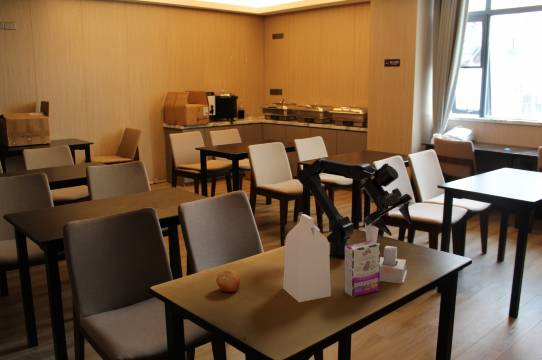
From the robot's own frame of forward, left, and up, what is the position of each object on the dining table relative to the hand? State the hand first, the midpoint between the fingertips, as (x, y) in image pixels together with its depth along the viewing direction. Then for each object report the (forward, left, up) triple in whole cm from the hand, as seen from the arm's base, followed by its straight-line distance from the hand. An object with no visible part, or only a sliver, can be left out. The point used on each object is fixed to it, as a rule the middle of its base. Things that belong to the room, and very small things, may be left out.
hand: (401, 229), depth 187 cm
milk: (-27, -29, -16) cm, 43 cm away
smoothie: (-15, +27, -16) cm, 34 cm away
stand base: (-3, -6, -16) cm, 17 cm away
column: (-3, -6, -15) cm, 16 cm away
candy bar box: (-10, -23, -16) cm, 30 cm away
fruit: (-52, -36, -16) cm, 65 cm away
